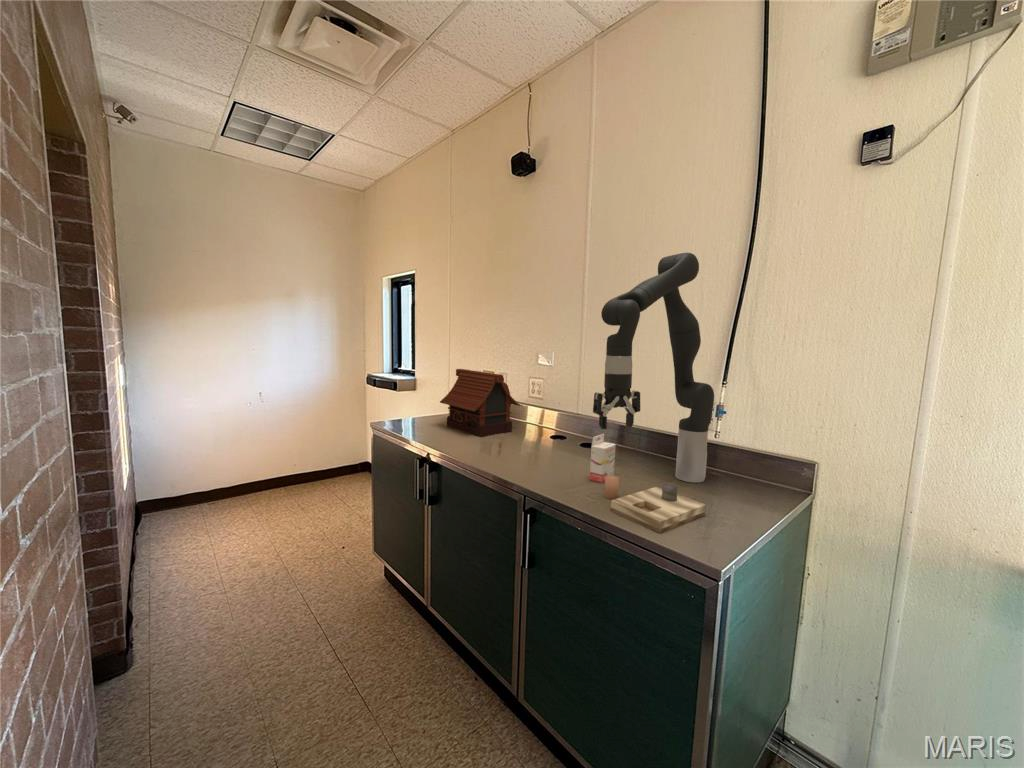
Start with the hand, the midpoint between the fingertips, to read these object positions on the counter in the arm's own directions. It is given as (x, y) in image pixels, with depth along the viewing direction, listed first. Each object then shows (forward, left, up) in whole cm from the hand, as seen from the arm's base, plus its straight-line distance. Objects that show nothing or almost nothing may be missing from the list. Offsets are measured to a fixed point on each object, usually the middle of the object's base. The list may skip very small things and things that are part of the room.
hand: (616, 427), depth 124 cm
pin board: (-4, +13, -22) cm, 26 cm away
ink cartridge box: (-12, -15, -22) cm, 29 cm away
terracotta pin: (-2, -2, -22) cm, 22 cm away
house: (-14, -101, -22) cm, 105 cm away
